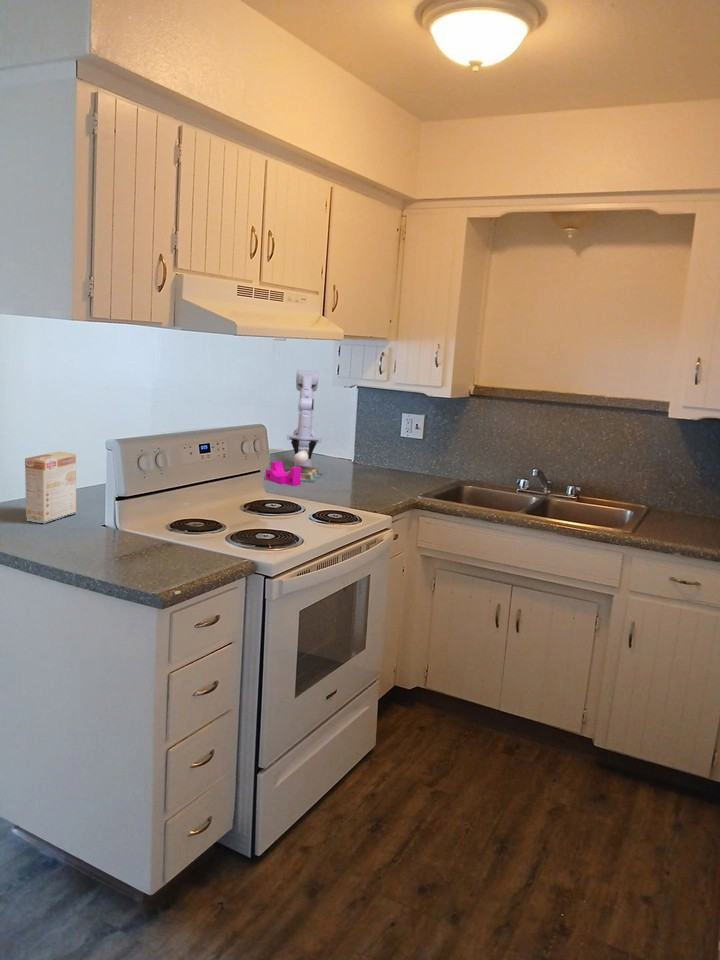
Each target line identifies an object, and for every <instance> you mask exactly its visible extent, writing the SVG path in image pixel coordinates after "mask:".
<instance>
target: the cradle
mask: <svg viewBox="0 0 720 960" xmlns="http://www.w3.org/2000/svg"><path fill="white" fill-rule="evenodd" d="M295 467H301V479H300V482H303V481H304V482H303V483H314V482H316V481H317V480H318V479H319V478H321V476H322V474H323V475H324V472H319V467H318V466H317V467H316V466H313V467H310V466H300V465H296V466H295ZM289 472H290V470H288V471H285V473H286V474H287V475H288V474H289ZM318 477H319V478H318ZM317 478H318V479H317ZM316 479H317V480H316ZM315 480H316V481H315Z"/></svg>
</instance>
